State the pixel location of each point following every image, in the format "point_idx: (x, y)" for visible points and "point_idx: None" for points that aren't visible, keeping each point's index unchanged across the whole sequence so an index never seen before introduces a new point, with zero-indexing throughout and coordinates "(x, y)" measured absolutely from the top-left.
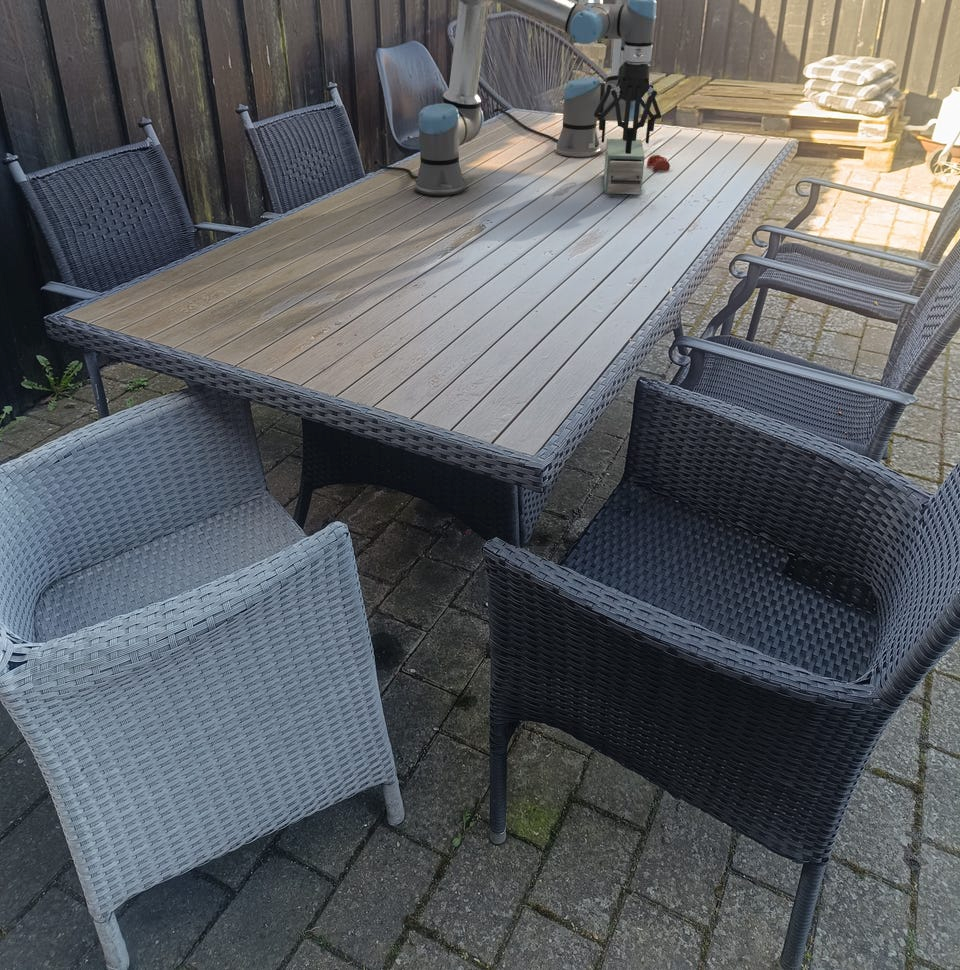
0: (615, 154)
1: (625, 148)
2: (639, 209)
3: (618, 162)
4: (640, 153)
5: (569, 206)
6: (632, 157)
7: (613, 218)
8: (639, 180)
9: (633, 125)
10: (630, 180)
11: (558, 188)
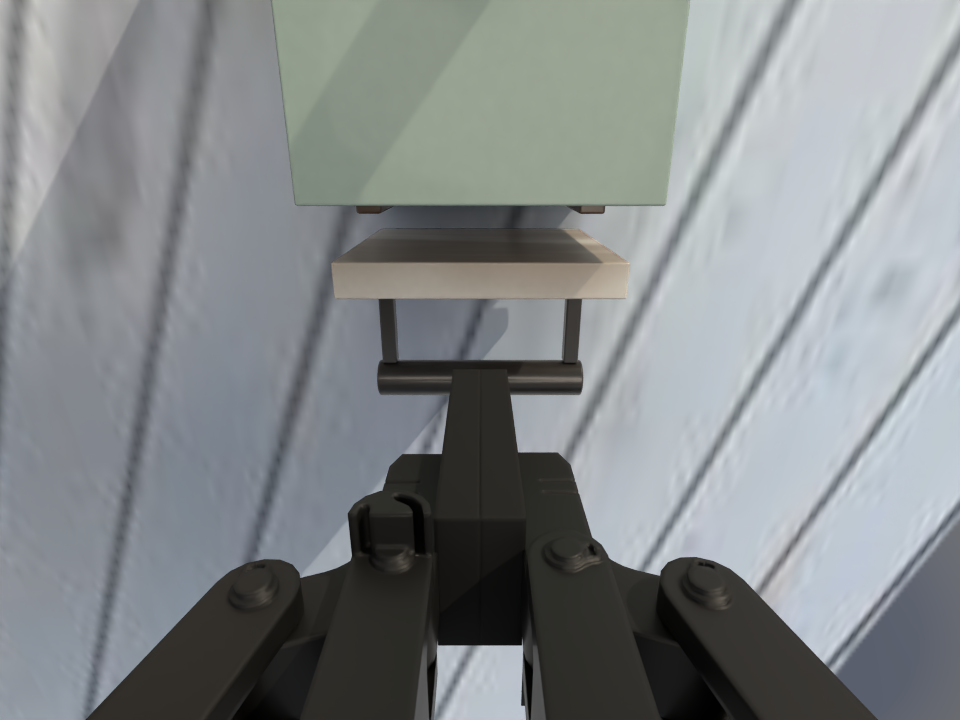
0: (366, 159)
1: (451, 381)
2: (554, 445)
3: (409, 296)
4: (639, 83)
5: (204, 433)
6: (541, 205)
7: None
8: (572, 392)
9: (525, 702)
10: (511, 393)
11: (55, 97)
